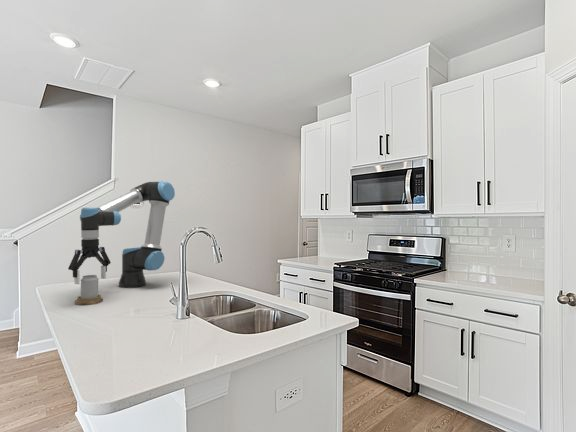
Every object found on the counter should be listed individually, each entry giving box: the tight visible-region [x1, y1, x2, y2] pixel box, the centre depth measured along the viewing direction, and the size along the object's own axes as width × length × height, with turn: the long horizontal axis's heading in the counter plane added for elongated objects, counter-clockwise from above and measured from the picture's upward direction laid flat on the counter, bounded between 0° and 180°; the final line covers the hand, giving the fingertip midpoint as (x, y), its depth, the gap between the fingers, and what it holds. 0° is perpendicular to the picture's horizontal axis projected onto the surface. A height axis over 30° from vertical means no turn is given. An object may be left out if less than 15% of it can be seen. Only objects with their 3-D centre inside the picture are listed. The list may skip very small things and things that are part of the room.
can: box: [80, 274, 99, 299], centre depth 166 cm, size 8×8×12 cm
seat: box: [74, 293, 104, 306], centre depth 166 cm, size 12×12×3 cm
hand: (90, 281), depth 167 cm, fingers open, 13 cm apart
